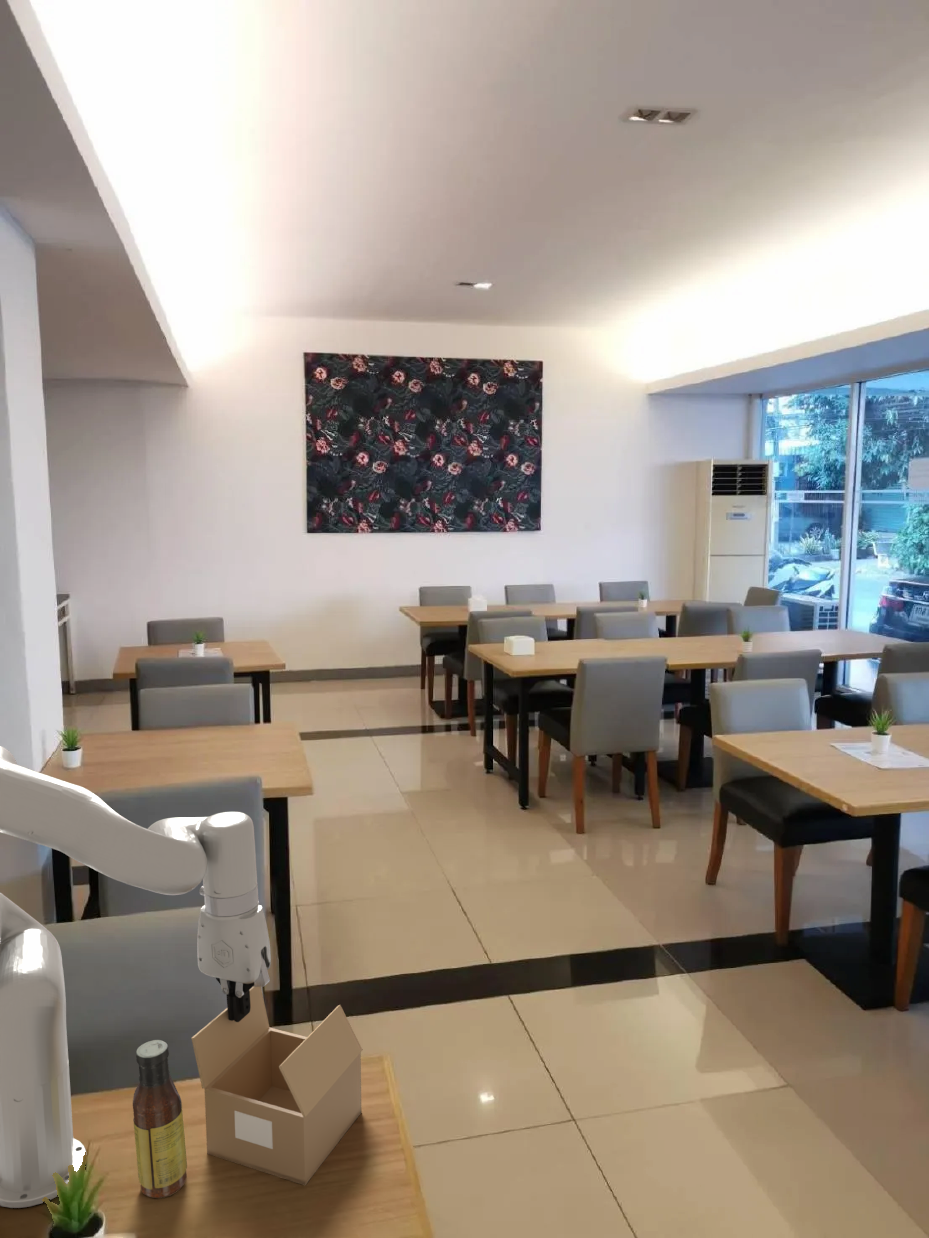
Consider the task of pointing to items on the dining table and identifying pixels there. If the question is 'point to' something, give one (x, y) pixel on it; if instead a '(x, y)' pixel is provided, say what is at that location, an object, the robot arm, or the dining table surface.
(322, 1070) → the flap
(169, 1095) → the sauce bottle
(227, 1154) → the carton
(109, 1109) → the dining table surface
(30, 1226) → the dining table surface
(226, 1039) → the flap
